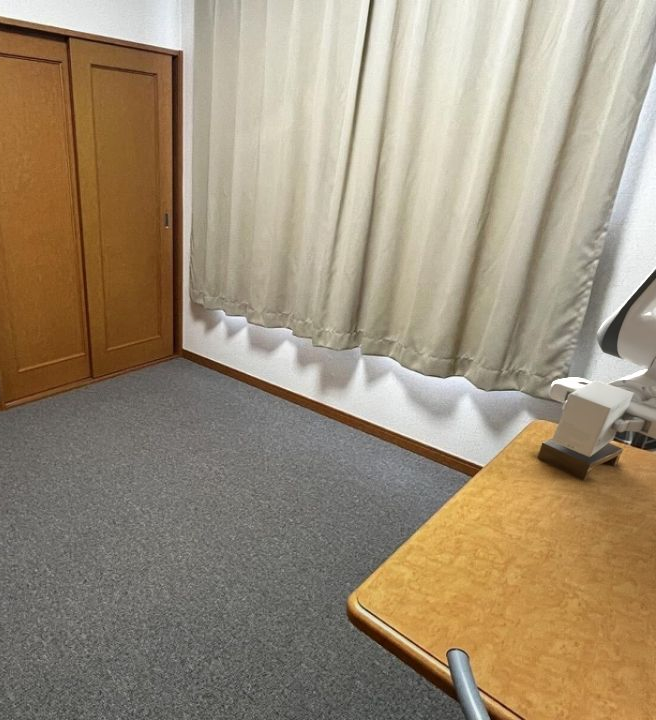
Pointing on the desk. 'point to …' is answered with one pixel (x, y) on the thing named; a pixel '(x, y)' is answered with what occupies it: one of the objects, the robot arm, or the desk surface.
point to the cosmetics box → (591, 417)
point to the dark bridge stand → (577, 458)
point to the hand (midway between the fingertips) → (591, 416)
